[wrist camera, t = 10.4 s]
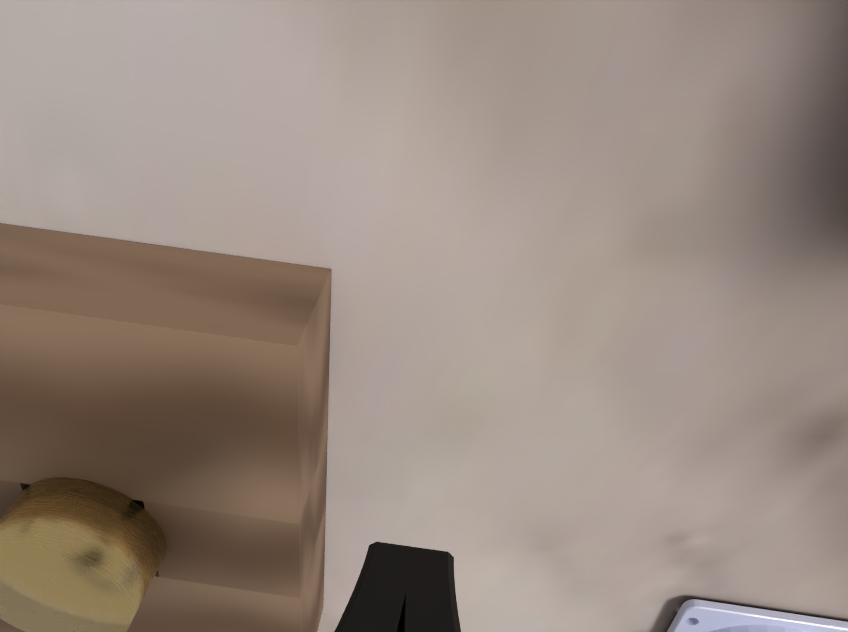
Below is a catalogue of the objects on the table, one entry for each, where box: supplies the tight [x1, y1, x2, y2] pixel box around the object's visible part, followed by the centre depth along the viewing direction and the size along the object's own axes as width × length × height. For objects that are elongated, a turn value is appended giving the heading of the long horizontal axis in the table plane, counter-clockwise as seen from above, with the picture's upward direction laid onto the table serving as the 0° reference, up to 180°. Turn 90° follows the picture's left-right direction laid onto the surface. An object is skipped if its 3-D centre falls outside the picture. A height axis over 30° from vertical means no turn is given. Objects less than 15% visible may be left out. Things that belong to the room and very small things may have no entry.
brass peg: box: [0, 477, 166, 632], centre depth 22 cm, size 5×5×6 cm
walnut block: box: [0, 223, 331, 632], centre depth 23 cm, size 18×14×4 cm
